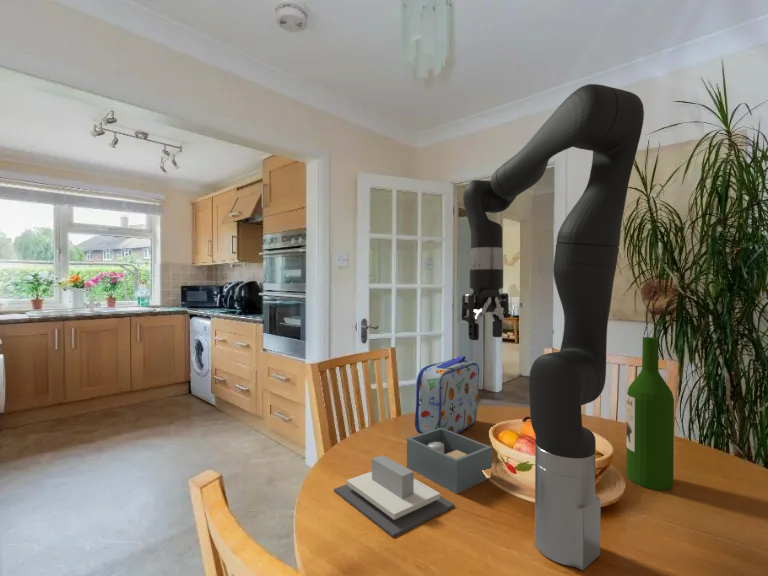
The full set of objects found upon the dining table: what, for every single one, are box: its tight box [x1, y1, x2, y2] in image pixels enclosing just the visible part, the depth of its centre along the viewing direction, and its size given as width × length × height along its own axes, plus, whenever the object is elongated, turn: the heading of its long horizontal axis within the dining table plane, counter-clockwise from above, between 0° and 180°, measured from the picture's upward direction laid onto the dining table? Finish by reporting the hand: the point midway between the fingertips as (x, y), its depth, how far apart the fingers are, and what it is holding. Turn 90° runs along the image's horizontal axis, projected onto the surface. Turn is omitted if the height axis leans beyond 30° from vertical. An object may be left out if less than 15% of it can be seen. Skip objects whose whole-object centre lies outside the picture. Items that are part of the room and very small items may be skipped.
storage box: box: [406, 428, 493, 495], centre depth 95 cm, size 16×12×7 cm
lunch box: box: [414, 356, 480, 434], centre depth 123 cm, size 28×10×22 cm, turn 143°
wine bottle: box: [625, 336, 675, 491], centre depth 91 cm, size 9×9×32 cm
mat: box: [333, 483, 455, 538], centre depth 83 cm, size 20×16×1 cm
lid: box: [346, 454, 441, 519], centre depth 83 cm, size 16×12×6 cm
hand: (486, 338), depth 92 cm, fingers open, 8 cm apart
